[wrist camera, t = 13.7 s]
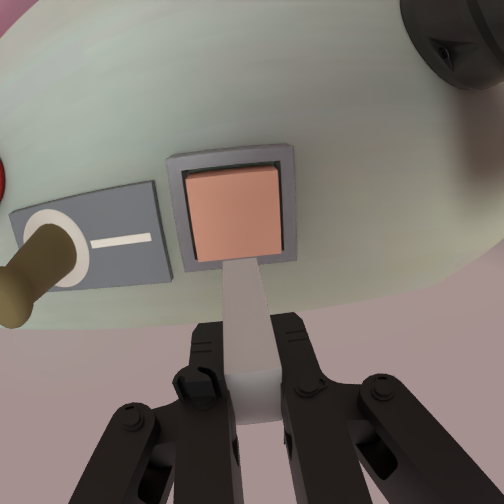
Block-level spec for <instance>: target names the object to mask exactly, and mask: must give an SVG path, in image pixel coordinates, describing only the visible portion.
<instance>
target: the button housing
mask: <svg viewBox="0 0 504 504" xmlns="http://www.w3.org/2000/svg"><path fill="white" fill-rule="evenodd" d="M268 161H275V168H276V169H277V170H278V184H279V204H280V226H281V251H282V253H280V254H271V255H262V256H252V257H243V258H233V259H224V260H215V261H205V262H198V257H197V251H196V245H195V239H194V233H193V227H192V221H191V214H190V207H189V201H188V194H187V187H186V178H187V170H191V169H198V168H206V167H215V166H224V165H233V164H244V163H255V162H268ZM166 166H167V173H168V180H169V186H170V193H171V199H172V205H173V211H174V217H175V223H176V229H177V234H178V239H179V245H180V250H181V255H182V260H183V265H184V270H185V272H193V271H203V270H213V269H222V268H223V261H228V260H238V259H247V258H257V262H258V265H260V264H269V263H278V262H287V261H296V260H297V236H296V196H295V170H294V149H293V146H291V145H288V144H270V145H256V146H244V147H233V148H223V149H214V150H206V151H198V152H190V153H183V154H176V155H172V156H170V157H169V158H167V159H166Z"/></svg>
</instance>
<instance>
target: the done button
mask: <svg viewBox="0 0 504 504" xmlns="http://www.w3.org/2000/svg"><path fill="white" fill-rule="evenodd" d="M186 187H187V194H188V201H189V207H190V214H191V221H192V227H193V233H194V239H195V245H196V251H197V257H198V262H205V261H215V260H224V259H233V258H243V257H252V256H262V255H271V254H280V253H282V251H281V226H280V204H279V184H278V170H277V169H276V168H275V167H274V166H273V165H260V166H248V167H237V168H227V169H218V170H210V171H201V172H193V173H190V174H189V175H188V177H187V178H186Z"/></svg>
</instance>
